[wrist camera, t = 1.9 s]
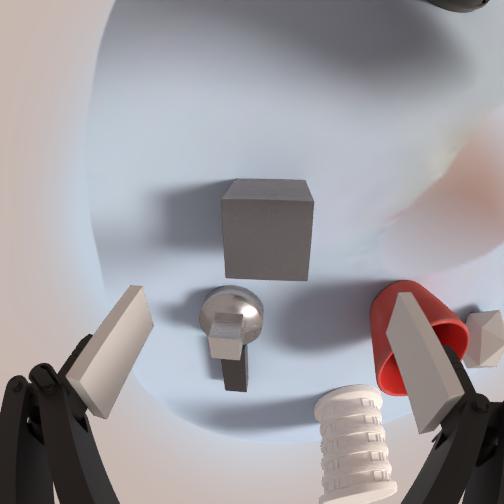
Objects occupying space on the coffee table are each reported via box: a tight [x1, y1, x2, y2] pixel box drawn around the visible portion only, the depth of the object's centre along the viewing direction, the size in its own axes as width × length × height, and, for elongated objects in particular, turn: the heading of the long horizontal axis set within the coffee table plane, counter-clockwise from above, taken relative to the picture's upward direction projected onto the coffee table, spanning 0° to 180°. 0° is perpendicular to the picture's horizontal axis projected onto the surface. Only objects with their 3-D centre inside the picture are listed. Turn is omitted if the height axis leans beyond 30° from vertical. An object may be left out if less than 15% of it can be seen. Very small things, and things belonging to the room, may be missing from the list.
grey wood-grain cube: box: [221, 179, 314, 281], centre depth 24 cm, size 6×6×7 cm
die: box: [463, 310, 504, 368], centre depth 27 cm, size 8×9×10 cm
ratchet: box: [199, 285, 264, 392], centre depth 32 cm, size 16×7×6 cm, turn 0°
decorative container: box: [314, 385, 397, 504], centre depth 32 cm, size 12×12×18 cm
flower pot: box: [370, 280, 469, 396], centre depth 26 cm, size 11×11×10 cm
